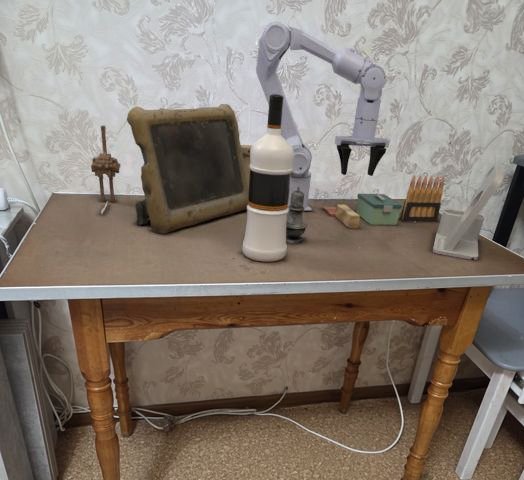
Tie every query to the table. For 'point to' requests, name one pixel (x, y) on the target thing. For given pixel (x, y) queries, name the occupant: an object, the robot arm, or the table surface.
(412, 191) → the ammunition clip
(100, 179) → the ostrich figurine
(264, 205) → the vodka
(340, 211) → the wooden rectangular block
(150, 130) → the tablet
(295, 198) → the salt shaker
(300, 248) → the table surface
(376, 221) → the tiffin box
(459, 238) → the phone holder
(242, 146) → the handle
